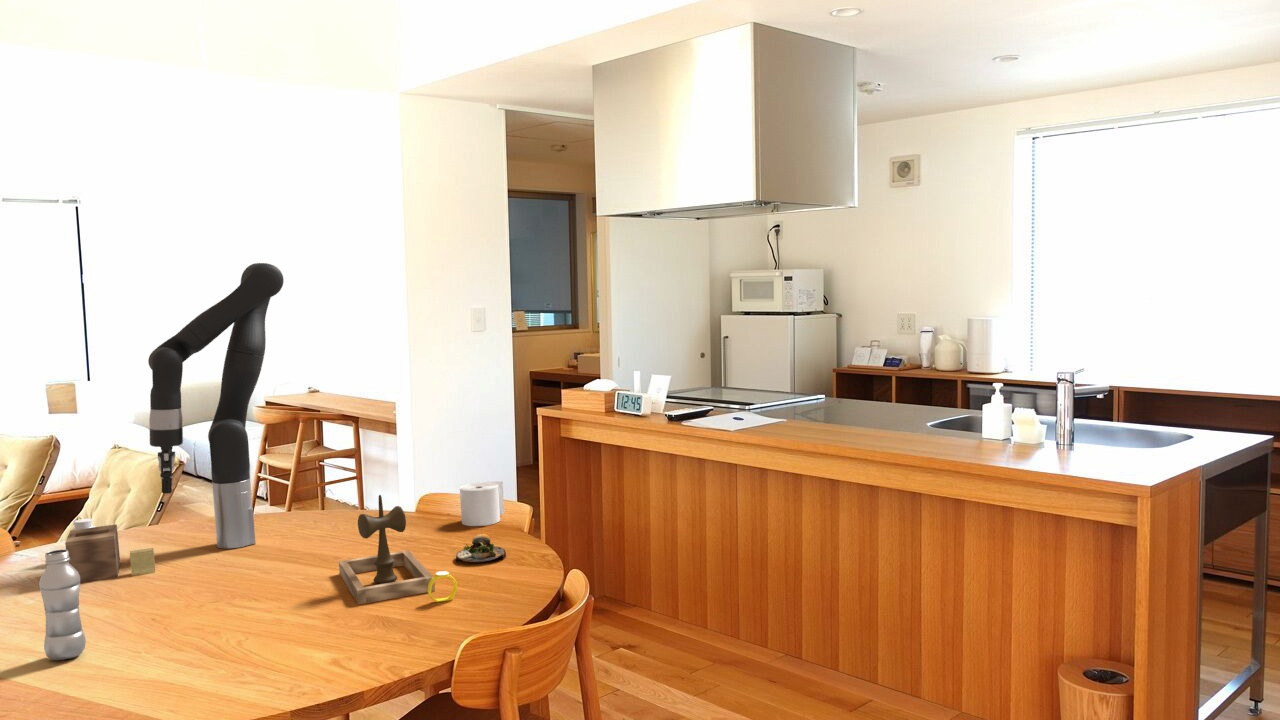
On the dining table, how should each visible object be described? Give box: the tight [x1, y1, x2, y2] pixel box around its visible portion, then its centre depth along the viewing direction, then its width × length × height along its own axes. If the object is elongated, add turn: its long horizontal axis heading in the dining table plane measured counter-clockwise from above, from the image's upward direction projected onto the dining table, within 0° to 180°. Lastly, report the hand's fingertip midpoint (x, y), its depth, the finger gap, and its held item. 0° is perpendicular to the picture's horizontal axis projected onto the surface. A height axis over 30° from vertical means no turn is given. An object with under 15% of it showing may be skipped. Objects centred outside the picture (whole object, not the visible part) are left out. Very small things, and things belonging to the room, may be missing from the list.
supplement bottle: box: [72, 518, 96, 530], centre depth 246 cm, size 6×6×10 cm
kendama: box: [357, 494, 407, 585], centre depth 216 cm, size 6×10×20 cm, turn 129°
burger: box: [455, 533, 507, 563], centre depth 232 cm, size 12×12×8 cm
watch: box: [427, 570, 458, 603], centre depth 202 cm, size 6×3×6 cm, turn 121°
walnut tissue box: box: [64, 524, 121, 584], centre depth 233 cm, size 10×13×10 cm
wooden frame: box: [338, 550, 436, 605], centre depth 217 cm, size 16×25×3 cm, turn 26°
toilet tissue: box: [459, 481, 505, 527], centre depth 269 cm, size 11×12×10 cm
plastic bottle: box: [38, 548, 87, 661], centre depth 178 cm, size 6×7×20 cm
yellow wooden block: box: [129, 547, 156, 577], centre depth 232 cm, size 5×2×6 cm, turn 116°
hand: (166, 490), depth 244 cm, fingers open, 8 cm apart
